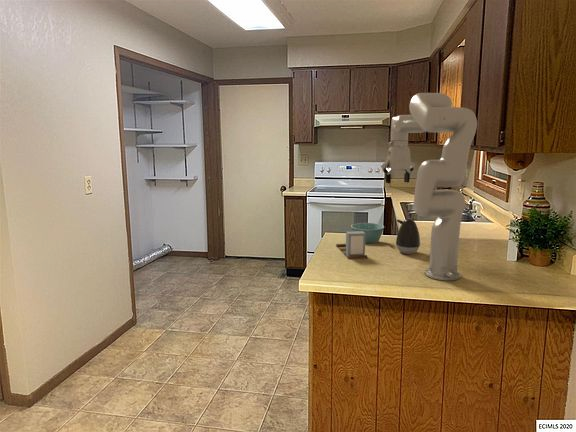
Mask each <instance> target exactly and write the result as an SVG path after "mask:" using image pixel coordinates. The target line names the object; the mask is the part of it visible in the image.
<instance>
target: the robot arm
mask: <svg viewBox="0 0 576 432" xmlns="http://www.w3.org/2000/svg"><path fill="white" fill-rule="evenodd" d="M452 103H453V101H452V99H451V98H450V96H449V95H448V94H446V93H442V92H418V93H416V94H415V95H413V96H412V98H411V100H410V102H409V107H408V109H409V112H410V114H400V115H396V116H393V117H392V118H391V122H390V123H391V124H390V127H391V128H390V141H388V144H387V145H388V146H390V147H389V148H388V152H387V156H386V161H384V162H383V163H381V164H380V167H381V170H382V172H383V173H384V176H385V184H390V183H392V182H391V180H392V179H391V177H392V174H391V173H392V171H404V172H405V173H404V174H403V175H404V176H403V178H404V179H403V182H404V183H410V180H411V179H410V178H411V177H410V176H411V173H412V171H414V168H415V167H416V163H414V162H413V161H411V159H412V158H411V150H410V147H409V134H413V133H414V134H416V133H417V134H418V133H419V134H421V133H422V134H423V133H426V132H427V133H452V134H451V135H450V136H449V137H448V138H447V140H446V141H445V143H444V145H443V146H442V152H441V157H440V159H427V160H424V161H423V162H422V163H421V164H420V166H418V167H419V168H418V170H417V175H416V182H415V187H414V188H415V190H414V196H413V210H414V213H415V214H416V215H417V216H418V217H421V218H436V219H435V220H434V222H433V224H432V227H431V235H430V249H429V252H430V253H429V265H428V266H429V268H426V269H424V275H425V276H427V277H429V278H431V279H434V280H440V281H457V280H460V279H461V277H462V273H461V272H460V271H458V259H459V248H460V247H459V246H460V245H459V244H460V234H461V233H460V232H461V223H462V219H463V218H462V217H463V214H464V210H465V206H466V198H465V196H464V195H463V193H462V192H460V191H459V190H456V189H436V188H452V187H453V188H454V187H459V186H461V185H462V184H463V183H464V181H465V178H466V172H467V167H468V161H469V157H470V156H469V154H470V149H471V145H472V142H473V141H474V140H473V139H474V137H475V135H476V133H477V128H478V120H477V117H476V113H474V111H473V110H472V109H470V108H467V107H463V106H462V107H461V106H460V107H458V106H457V107H456V106H453V105H452Z"/></svg>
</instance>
